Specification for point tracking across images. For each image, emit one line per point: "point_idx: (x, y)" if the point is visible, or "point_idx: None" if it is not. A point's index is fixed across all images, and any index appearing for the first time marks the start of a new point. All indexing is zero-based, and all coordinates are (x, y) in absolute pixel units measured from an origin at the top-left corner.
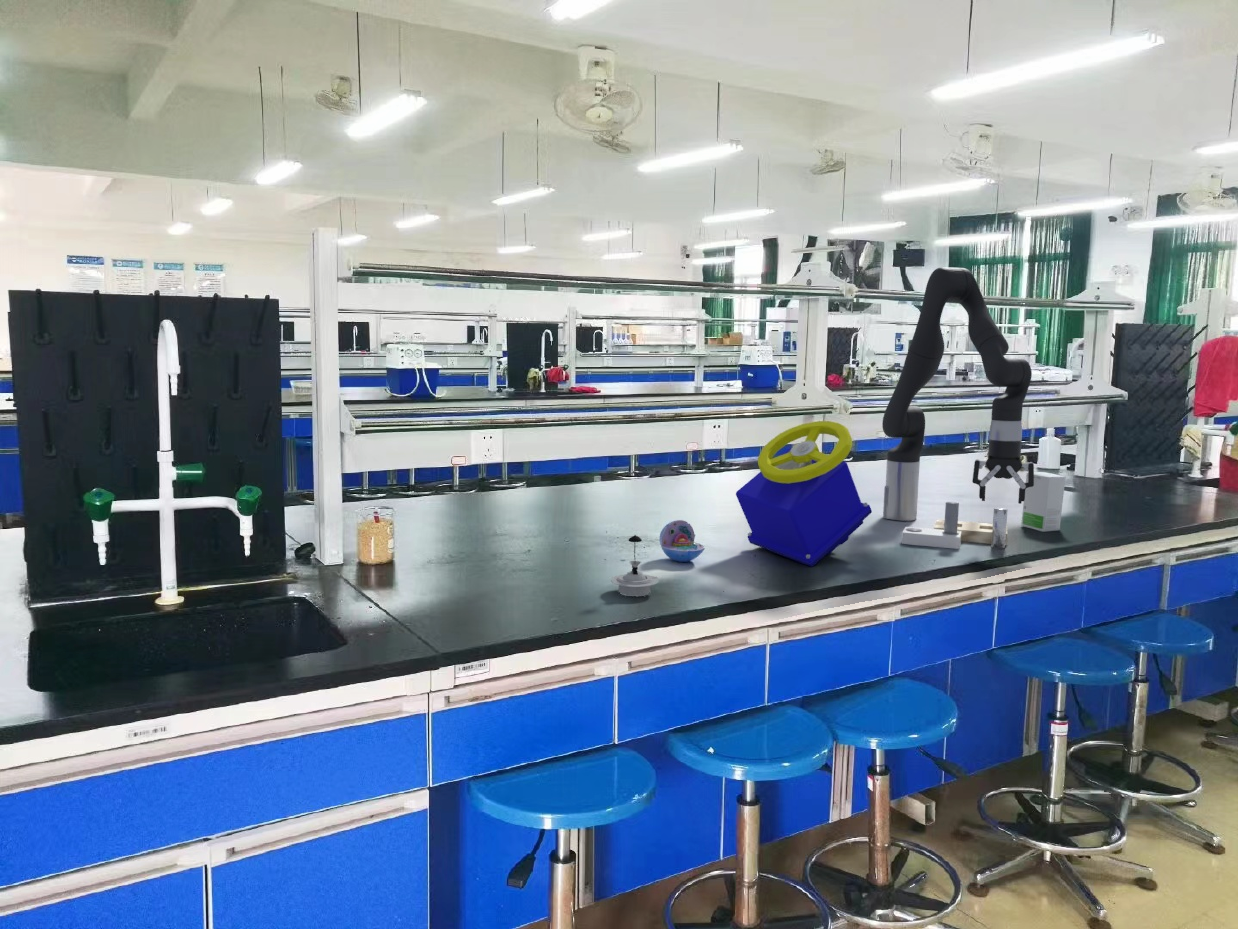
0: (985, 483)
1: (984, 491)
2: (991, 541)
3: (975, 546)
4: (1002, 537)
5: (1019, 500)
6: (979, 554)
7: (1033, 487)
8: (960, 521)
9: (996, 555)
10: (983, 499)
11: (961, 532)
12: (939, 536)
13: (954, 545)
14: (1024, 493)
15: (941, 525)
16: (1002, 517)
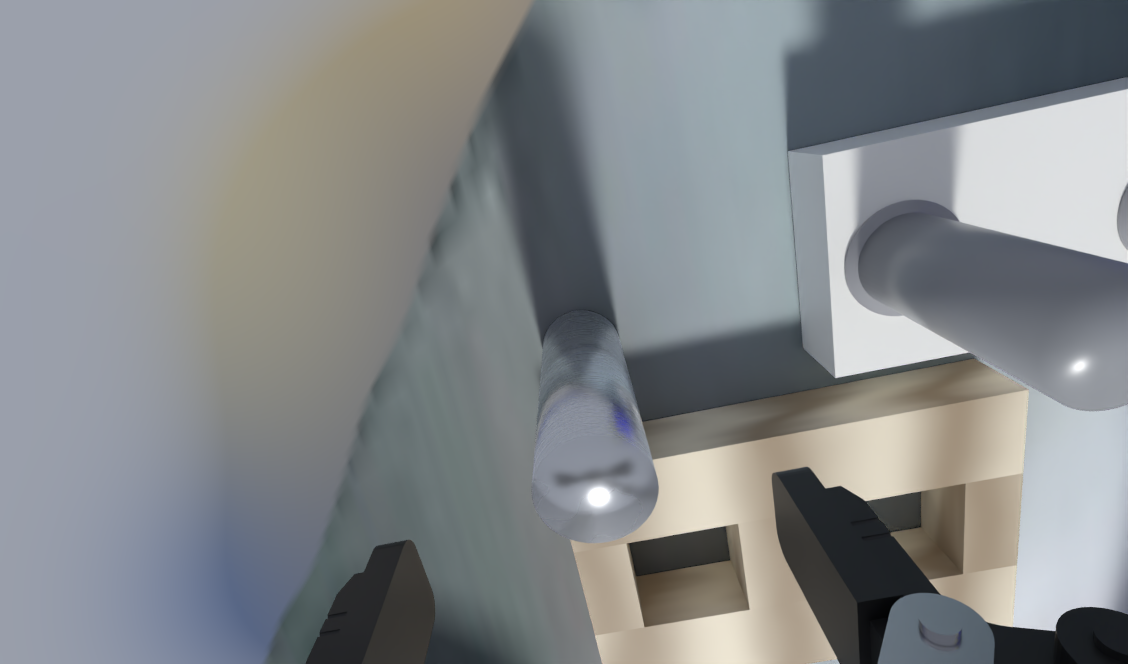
0: (894, 651)
1: (833, 546)
2: None
3: (706, 300)
4: (553, 348)
5: (389, 558)
6: (641, 69)
7: None
8: None
9: (538, 113)
10: (793, 473)
11: (831, 416)
12: (975, 122)
13: (830, 144)
14: (315, 660)
15: (978, 481)
16: (561, 408)
